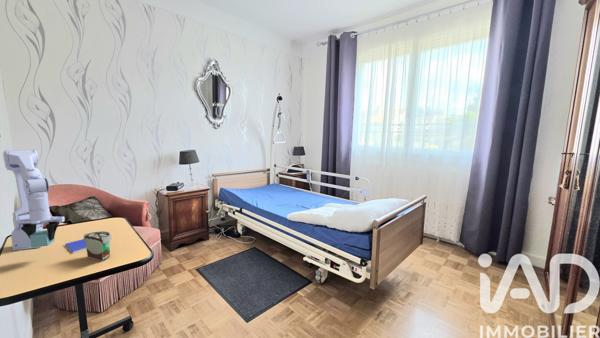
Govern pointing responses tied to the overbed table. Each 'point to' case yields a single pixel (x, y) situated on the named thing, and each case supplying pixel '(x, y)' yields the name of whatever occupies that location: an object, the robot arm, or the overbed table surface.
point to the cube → (40, 239)
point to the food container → (98, 245)
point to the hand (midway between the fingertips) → (43, 240)
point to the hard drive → (76, 246)
